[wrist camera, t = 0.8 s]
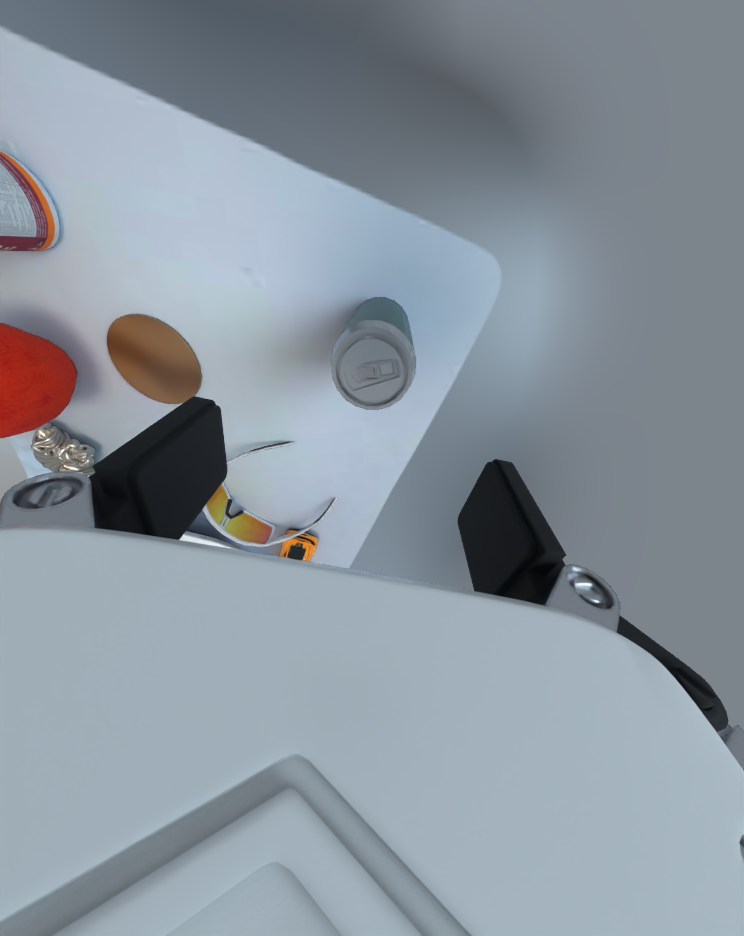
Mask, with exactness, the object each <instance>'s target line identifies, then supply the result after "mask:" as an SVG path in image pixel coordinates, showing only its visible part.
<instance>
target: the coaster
mask: <svg viewBox="0 0 744 936" xmlns="http://www.w3.org/2000/svg"><path fill="white" fill-rule="evenodd" d="M107 345H108V350H109V354H110V356H111V359H112V361H113V363H114V365H115V367H116V368H117V370H118V371H119V372H120V374H121V375H122V376H123V377H124V379H125V380H126V381H127V382H128V383H129V384H130V385H131V386H133V387H134V388H135V389H136V390H138V391H139V392H141V393H142V394H144V395H145V396H147V397H149V398H151V399H153V400H156V401H159V402H162V403H168V404H180V403H184V402H186V401H187V400H189V399H190V398H191V397H194V396H195V395H196V394H197V392H198V391H199V388H200V385H201V369H200V365H199V362H198V360H197V358H196V355H195V354H194V352H193V350H192V348H191V347H190V346H189V344H188V343H187V342H186V341H185V340H184V338H183V337H182V336H181V335H180V334H179V333H178V332H176V331H175V330H174V329H173V328H171V327H170V326H168V325H167V324H165V323H164V322H162V321H160V320H158V319H156V318H153V317H150V316H147V315H141V314H130V315H125V316H122V317H120V318H118V319H116V320H115V321H114V322H113V323H112V325H111V326H110V328H109V331H108V335H107Z"/></svg>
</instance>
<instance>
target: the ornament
mask: <svg viewBox="0 0 744 936" xmlns="http://www.w3.org/2000/svg"><path fill="white" fill-rule="evenodd" d="M51 425H52V424H51V423H45V424H44V425H42V426H40V427H39V428H38V429H37V430H36V432H35V434H34V437H33V440H32V445H31V448H32V449H33V450H34V456H35V458H36V459H37V460H38V461H39V462H40V463H41V464H42V465H43V466H44V467H46V468H48V469H50V470H52V471H53V472H61V471H67V472H77V473H81V474H84V475H85V476H88V475H92V474H94V473H95V470H94V468H93V465H94V462H95V460H94V457H93V456H94V454H95V449H94V448H93V447H91V446H89V445H87V444H82V445H81V444H80V442H79V441H78V440H76V439H71V440H70V437H69V435H68V434H67V433H66V432H65V431H63V430H59V429H58V428H57V427H56V426H51Z"/></svg>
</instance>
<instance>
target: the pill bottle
mask: <svg viewBox="0 0 744 936" xmlns="http://www.w3.org/2000/svg"><path fill="white" fill-rule="evenodd" d="M59 233H60V226H59V220H58V215H57V212H56V209H55V207H54V204H53V202H52V200H51V198H50V196H49V194H48V193H47V191H46V190H45V188H44V187H43V186H42V184H41V183H40V182H39V180H38V179H37V178H36V177H35V176H34V175H33V174H32V173H31V171H29V170H28V169H27V168H26V167H25V166H24V165H23V164H22V163H20V162H19V161H18V160H16V159H15V158H14V157H12V156H11V155H9V154H7V153H5V152H4V151H2V150H0V251H42V250H47V249H50V248H51V247H53V246H54V245H55V244H56V242H57V240H58V238H59Z"/></svg>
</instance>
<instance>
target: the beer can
mask: <svg viewBox="0 0 744 936" xmlns="http://www.w3.org/2000/svg"><path fill="white" fill-rule="evenodd" d="M415 368H416V357H415V352H414V347H413V341H412V336H411V330H410V325H409V321H408V317H407V315H406V313H405V311H404V310H403V308H402V307H401V306H400V305H399V304H398V303H397V302H395V301H394V300H392V299H389V298H386V297H374V298H371V299H369V300H366V301H365V302H364V303H362V304H361V305H360V306H359V307H358V308H357V310H356V311H355V313H354V314H353V316H352V318H351V319H350V321H349V322H348V324H347V325H346V327H345V328H344V330H343V332H342V333H341V335H340V336H339V338H338V340H337V341H336V343H335V345H334V346H333V351H332V355H331V370H332V378H333V381H334V383H335V385H336V388H337V390H338V391H339V392H340V394H341V395H342V396H343V397H344V398H345V399H346V400H347V401H349V402H350V403H352V404H353V405H355V406H357V407H360V408H363V409H366V410H379V409H383V408H386V407H390V406H391V405H393V404H394V403H396V402H397V401H399V400H400V399H401V398H402V397H403V395H404V394H405V393H406V392H407V391H408V388H409V387H410V385H411V383H412V380H413V378H414V375H415Z"/></svg>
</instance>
